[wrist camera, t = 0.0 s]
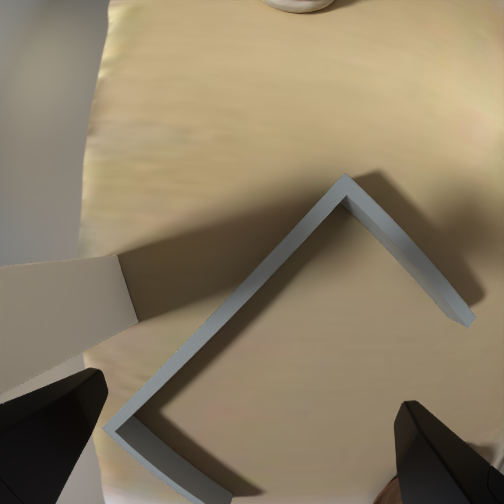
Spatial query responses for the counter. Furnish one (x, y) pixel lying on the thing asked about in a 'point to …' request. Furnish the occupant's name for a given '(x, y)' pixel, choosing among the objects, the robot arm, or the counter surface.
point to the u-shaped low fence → (344, 191)
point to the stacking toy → (298, 5)
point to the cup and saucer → (390, 494)
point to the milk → (58, 313)
